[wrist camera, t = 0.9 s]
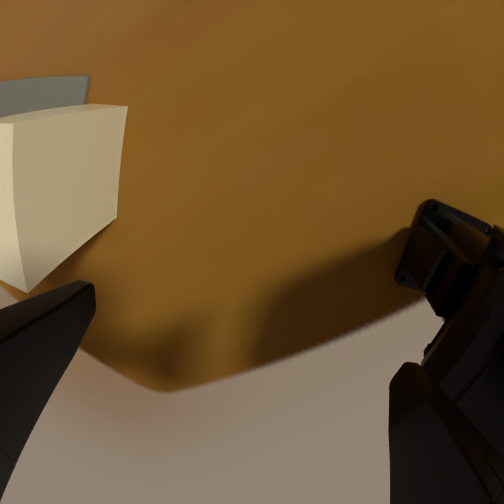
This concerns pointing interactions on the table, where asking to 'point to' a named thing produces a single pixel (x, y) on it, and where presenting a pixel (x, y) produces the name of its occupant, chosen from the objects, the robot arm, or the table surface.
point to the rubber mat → (42, 93)
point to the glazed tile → (55, 185)
